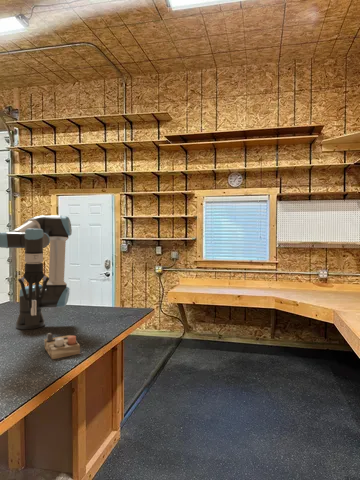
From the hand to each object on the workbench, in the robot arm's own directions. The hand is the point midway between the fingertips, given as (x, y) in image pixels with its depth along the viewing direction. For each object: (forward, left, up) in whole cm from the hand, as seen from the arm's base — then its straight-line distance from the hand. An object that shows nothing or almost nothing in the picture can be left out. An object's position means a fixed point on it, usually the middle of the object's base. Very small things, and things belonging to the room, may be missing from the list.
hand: (33, 314), depth 144 cm
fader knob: (0, +7, -13) cm, 15 cm away
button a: (+8, +15, -14) cm, 22 cm away
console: (+4, +12, -17) cm, 21 cm away
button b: (+8, +10, -14) cm, 18 cm away
